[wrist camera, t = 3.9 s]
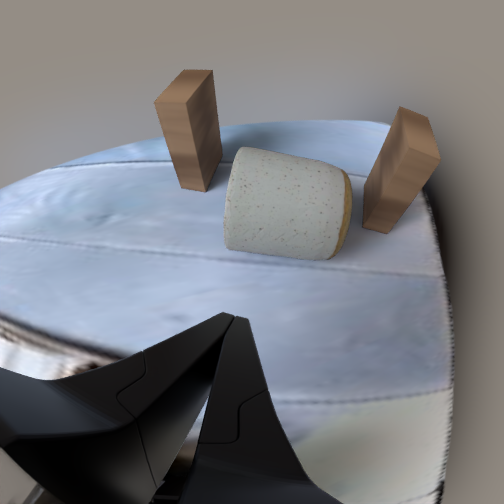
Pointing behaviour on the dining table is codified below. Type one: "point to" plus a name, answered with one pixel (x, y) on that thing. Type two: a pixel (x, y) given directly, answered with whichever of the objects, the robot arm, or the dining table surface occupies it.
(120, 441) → the robot arm
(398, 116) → the walnut bookends
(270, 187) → the ceramic mug
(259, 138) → the dining table surface
